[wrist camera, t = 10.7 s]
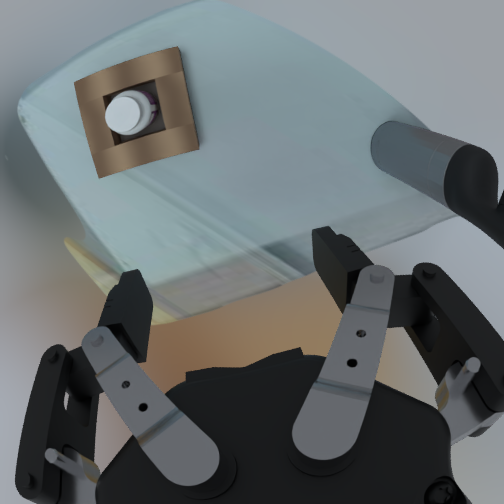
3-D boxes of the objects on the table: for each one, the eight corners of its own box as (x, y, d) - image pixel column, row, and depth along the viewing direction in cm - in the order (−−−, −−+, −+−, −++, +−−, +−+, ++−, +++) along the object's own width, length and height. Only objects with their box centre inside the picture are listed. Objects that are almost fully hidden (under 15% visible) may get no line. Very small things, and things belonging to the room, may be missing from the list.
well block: (179, 51, 30) (177, 46, 27) (199, 144, 38) (199, 149, 34) (84, 83, 30) (73, 82, 26) (107, 171, 37) (99, 178, 33)
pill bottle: (118, 97, 32) (94, 99, 23) (155, 86, 32) (140, 83, 24) (126, 133, 34) (105, 144, 26) (163, 122, 35) (150, 130, 27)
